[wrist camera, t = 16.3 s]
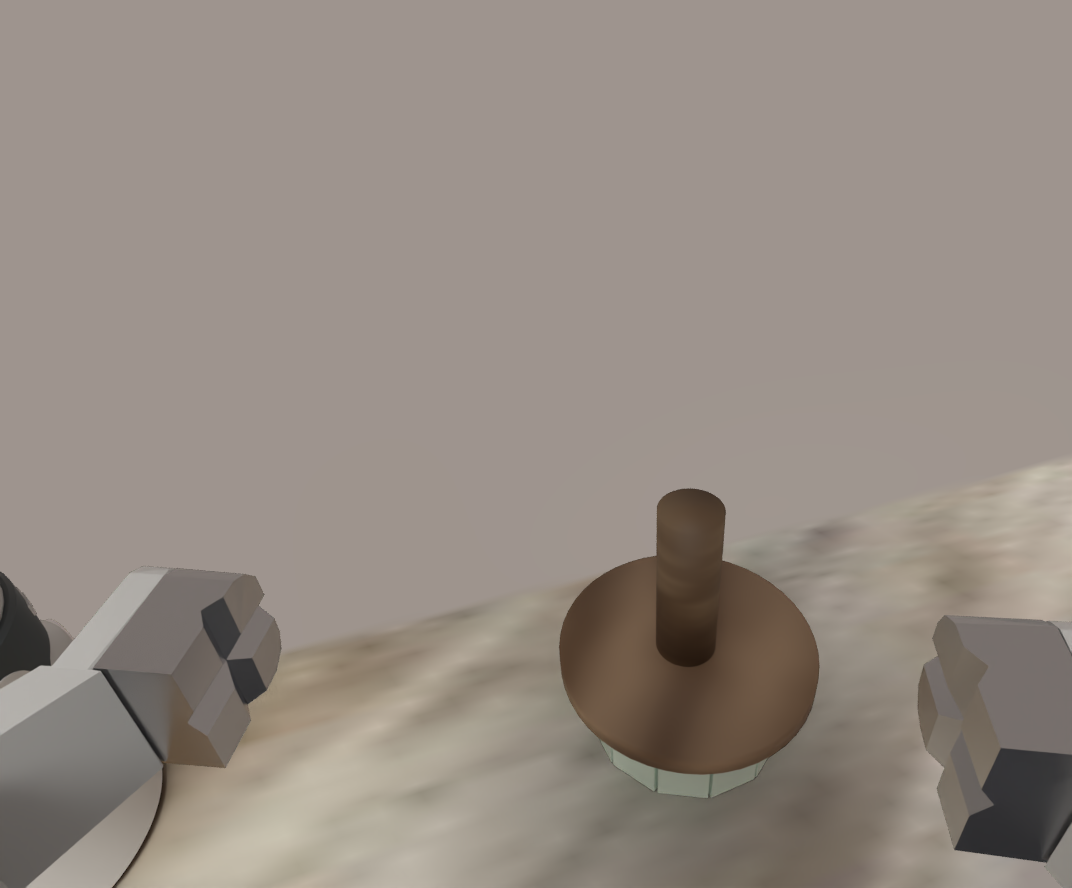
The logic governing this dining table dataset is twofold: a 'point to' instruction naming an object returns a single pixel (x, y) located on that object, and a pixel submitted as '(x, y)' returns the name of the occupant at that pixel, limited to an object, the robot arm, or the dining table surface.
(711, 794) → the celadon bowl
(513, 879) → the dining table surface
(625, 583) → the walnut lid
